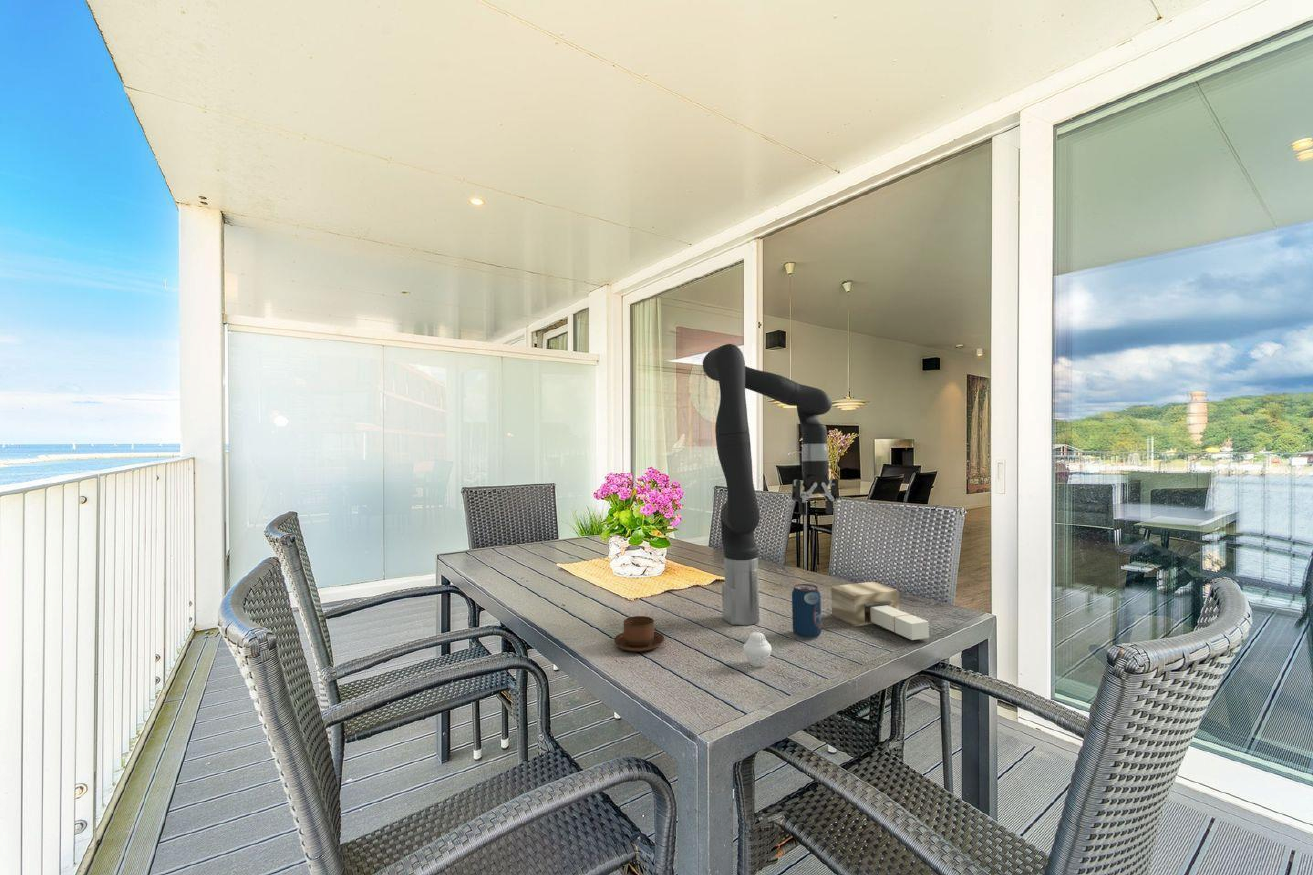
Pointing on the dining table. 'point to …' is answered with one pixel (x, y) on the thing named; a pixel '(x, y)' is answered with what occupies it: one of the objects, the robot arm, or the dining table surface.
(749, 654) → the white rounded piece
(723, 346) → the robot arm
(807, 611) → the soda can
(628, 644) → the cup and saucer
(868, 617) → the dispenser
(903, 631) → the white two-segment bar
